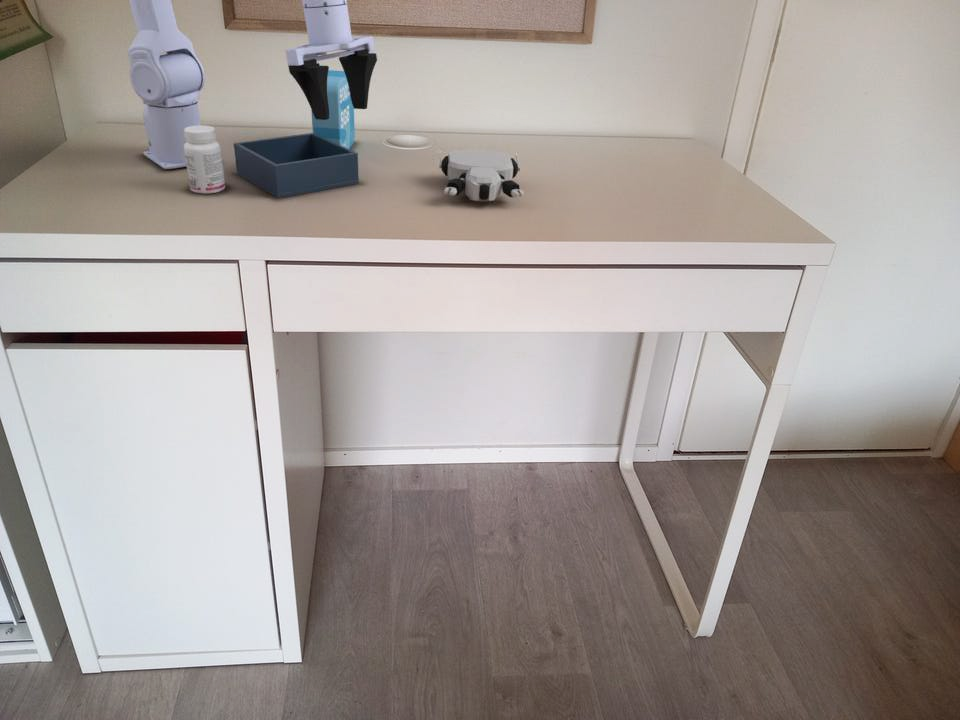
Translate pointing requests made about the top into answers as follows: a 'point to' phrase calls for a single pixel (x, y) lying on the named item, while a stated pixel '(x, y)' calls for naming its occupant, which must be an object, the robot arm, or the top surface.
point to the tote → (296, 164)
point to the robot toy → (480, 174)
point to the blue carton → (337, 112)
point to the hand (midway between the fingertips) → (341, 113)
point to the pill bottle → (203, 160)
